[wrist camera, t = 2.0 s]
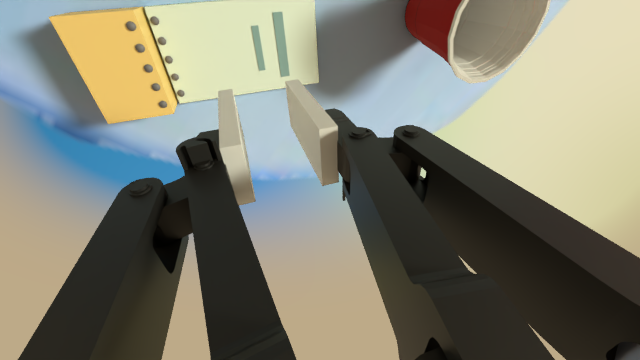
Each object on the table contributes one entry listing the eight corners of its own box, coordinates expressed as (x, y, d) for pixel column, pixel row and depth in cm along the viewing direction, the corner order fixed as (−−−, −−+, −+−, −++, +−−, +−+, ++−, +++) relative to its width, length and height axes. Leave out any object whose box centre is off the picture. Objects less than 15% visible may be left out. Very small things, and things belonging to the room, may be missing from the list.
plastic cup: (403, 76, 38) (464, 107, 29) (372, -2, 31) (438, 5, 22) (471, 25, 37) (557, 40, 28) (453, -67, 30) (560, -89, 21)
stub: (69, 12, 24) (47, 17, 21) (143, 6, 26) (132, 10, 22) (119, 109, 30) (107, 124, 27) (177, 100, 31) (173, 114, 28)
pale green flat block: (147, 6, 26) (143, 7, 25) (310, -7, 29) (314, -7, 28) (181, 99, 31) (179, 104, 30) (315, 79, 35) (319, 83, 33)
